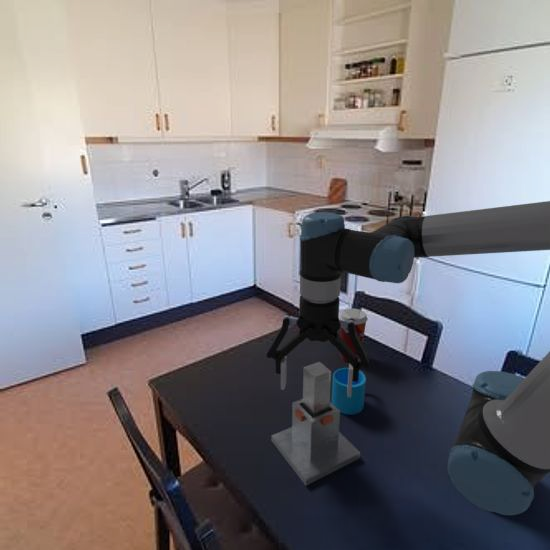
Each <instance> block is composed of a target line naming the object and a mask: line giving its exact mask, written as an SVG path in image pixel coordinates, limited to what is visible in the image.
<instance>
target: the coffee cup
mask: <svg viewBox="0 0 550 550" xmlns="http://www.w3.org/2000/svg"><path fill="white" fill-rule="evenodd" d="M350 318H353V319H354V322H355V330H356V332H357V334H358V336H359V338H360V340H361V343H362V345H363V344H364V339H365V332H366V331H365V330H366V325H367V321H368V317H367V313H366V312H365V311H364V310H361V309H358V308H346V309H343V310H342V311H341V312H340V314H339V320H340V321H348V320H349V319H350ZM339 331H340V334H339V335H340V337H341V338H342V339H343V341H344V342H345V343H346V344H347V345H348V347H349V348H350V349H351V350H352V351H353V353H354V354H355V355H356V356H357V357H358V358H359V356H358V354H357V352H356V350H355V348H354V346H353V344H352V342H351V340H350V337H349V334H348V333H346V332H345V331H344V329H343V328H340V329H339ZM363 346H364V345H363ZM340 358H341V360H342V361H344V362H347V363H349V362H348V361H347V360H346V359H345V357H344V356H343V355H342V354H341V353H340Z"/></svg>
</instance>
